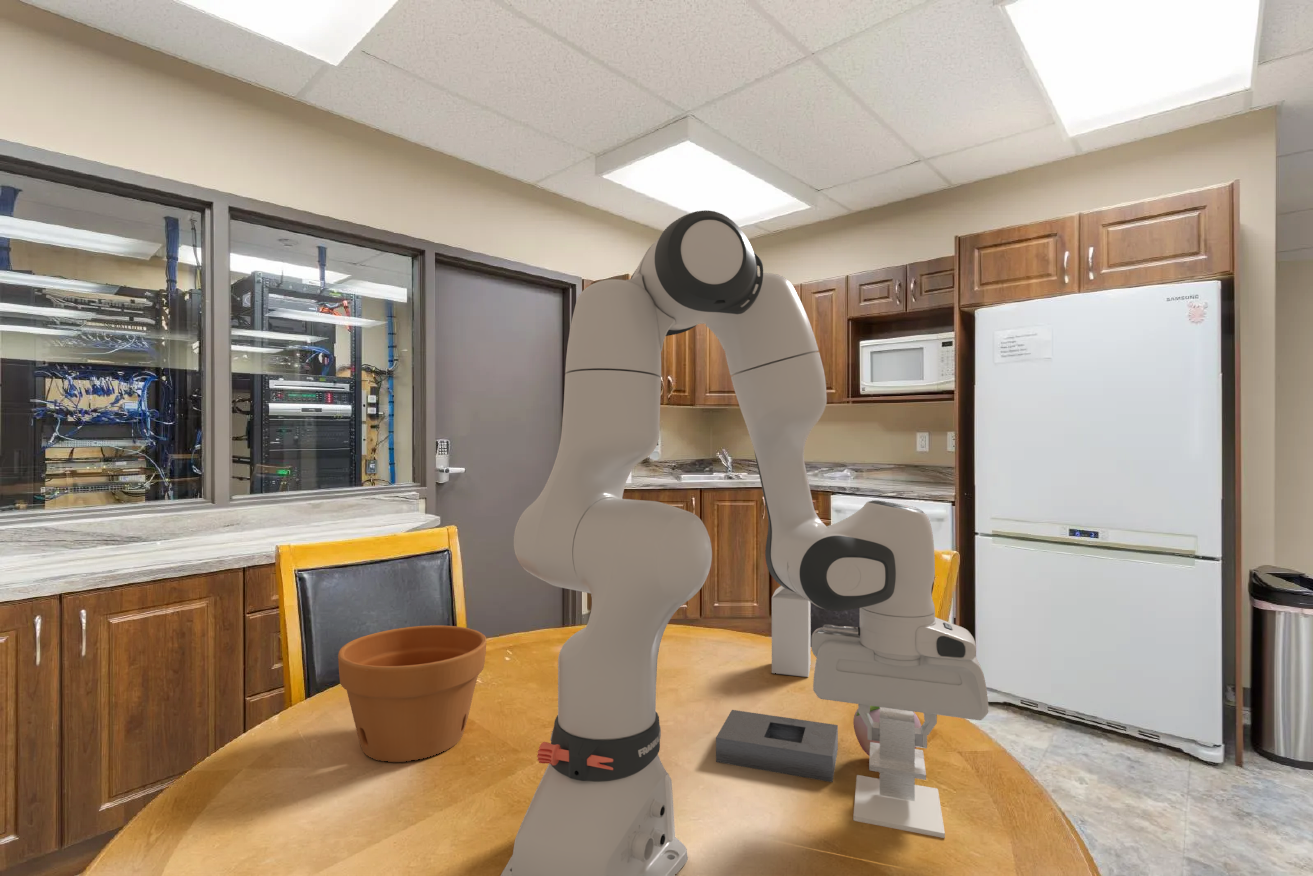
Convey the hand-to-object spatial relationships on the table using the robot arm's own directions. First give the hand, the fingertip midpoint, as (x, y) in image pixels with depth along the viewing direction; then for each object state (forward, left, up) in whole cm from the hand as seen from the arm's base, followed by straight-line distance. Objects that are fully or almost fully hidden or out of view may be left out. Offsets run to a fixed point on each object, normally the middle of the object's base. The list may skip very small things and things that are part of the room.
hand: (896, 742), depth 79 cm
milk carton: (+44, +19, -8) cm, 49 cm away
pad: (0, 0, -8) cm, 8 cm away
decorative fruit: (+11, +1, -8) cm, 14 cm away
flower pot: (-6, +69, -8) cm, 70 cm away
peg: (0, 0, -6) cm, 6 cm away
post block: (+8, +16, -8) cm, 20 cm away
